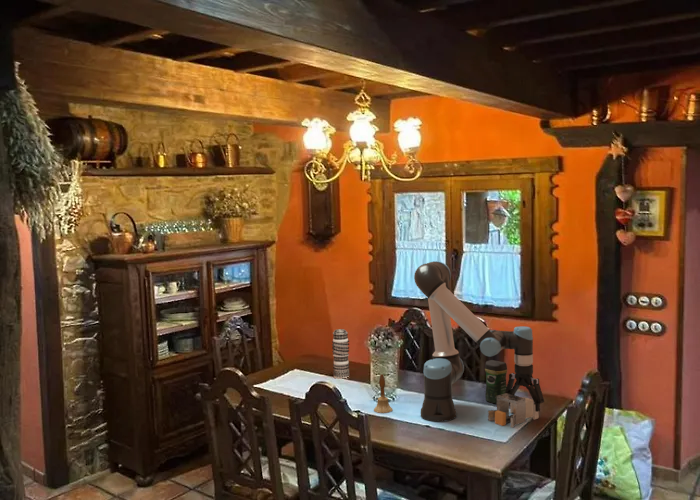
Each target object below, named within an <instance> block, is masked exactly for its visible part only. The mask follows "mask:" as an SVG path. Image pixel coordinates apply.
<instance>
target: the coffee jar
mask: <svg viewBox="0 0 700 500" xmlns="http://www.w3.org/2000/svg"><path fill="white" fill-rule="evenodd" d="M484 371H485V378H486V380H485V397H484V398H485V399H484V400H485V401H486V402H489V403H493V404H495V405H497V396H498V395H502V394H505V391H506V387H507V373H508V365H507V363H506V362H505V361H498V360H493V359H490V360H486V362H485V363H484Z"/></svg>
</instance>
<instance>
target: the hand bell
mask: <svg viewBox="0 0 700 500" xmlns="http://www.w3.org/2000/svg"><path fill="white" fill-rule="evenodd" d="M379 375H380V376H379V380H378V381H379V382H378V383H379V388H380V396H379V397H377V404H376V406H375V407H374V408H373V411H374V412H375V413H377V414H388V413H392V412H393V407H392V406H391V405H390V404H389V403H390V402H389V398H388V397H387V396H386V395H385V386H386V379H385V376H384V374H383V373H382V374H379Z"/></svg>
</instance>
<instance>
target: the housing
mask: <svg viewBox="0 0 700 500" xmlns="http://www.w3.org/2000/svg"><path fill="white" fill-rule="evenodd" d="M525 398H526V397H525ZM525 398H523V396H517V395H511V394H507V393H505V394H502V395H498V396H497V404H496V409H493V410H492V409H491V410H488V411H487V418H488V419H487V420H488V421H489V422H490V421H491V422H493V421H495V411H502V412H505V413H506V417H507V416H510V404H509V402H510V403H513V413H512V414H511V415H512V416H511V422H510V429H511V428H512V429H513V428H514V427H515V426H516V425H519V424H523V423H526V421H527V420H526V419H527V418H526V402H525Z"/></svg>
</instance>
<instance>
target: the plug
mask: <svg viewBox="0 0 700 500" xmlns="http://www.w3.org/2000/svg"><path fill="white" fill-rule="evenodd" d="M522 398H525V402H526V419H528V418H533V403H534V401H533V399H531V398H528V397H524V396H522ZM512 415H513V414H511V415H510V414H509V416H507V417H506V413H505V412H502V411H495V420H494V424H495V425H498V426H501V427H502V426H503V427H504V426H506V425H507V423H508V424H509V423H511V416H512Z"/></svg>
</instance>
